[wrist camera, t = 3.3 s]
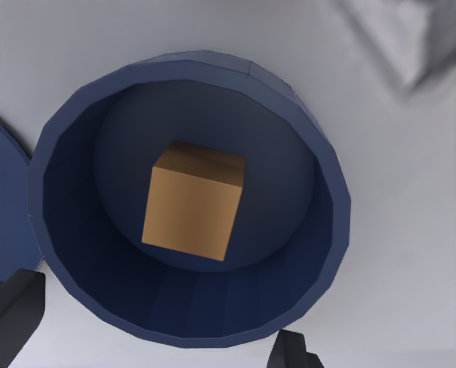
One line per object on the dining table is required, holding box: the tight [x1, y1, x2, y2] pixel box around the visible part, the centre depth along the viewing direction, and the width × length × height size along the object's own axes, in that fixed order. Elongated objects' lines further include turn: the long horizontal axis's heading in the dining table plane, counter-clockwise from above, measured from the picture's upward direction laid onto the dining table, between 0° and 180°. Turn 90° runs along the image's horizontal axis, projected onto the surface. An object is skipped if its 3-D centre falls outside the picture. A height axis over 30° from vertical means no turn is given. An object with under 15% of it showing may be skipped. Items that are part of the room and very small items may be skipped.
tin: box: [27, 50, 351, 348], centre depth 20 cm, size 16×16×6 cm
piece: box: [142, 140, 246, 261], centre depth 21 cm, size 5×5×5 cm
